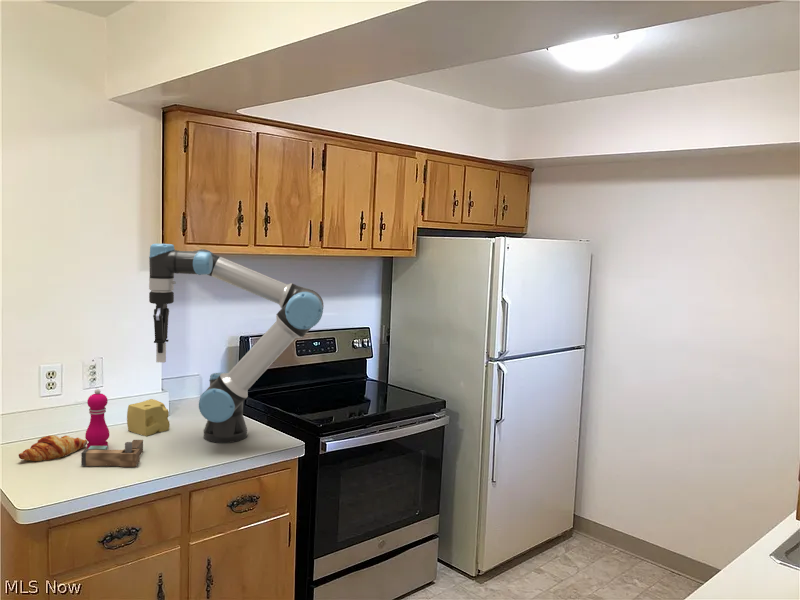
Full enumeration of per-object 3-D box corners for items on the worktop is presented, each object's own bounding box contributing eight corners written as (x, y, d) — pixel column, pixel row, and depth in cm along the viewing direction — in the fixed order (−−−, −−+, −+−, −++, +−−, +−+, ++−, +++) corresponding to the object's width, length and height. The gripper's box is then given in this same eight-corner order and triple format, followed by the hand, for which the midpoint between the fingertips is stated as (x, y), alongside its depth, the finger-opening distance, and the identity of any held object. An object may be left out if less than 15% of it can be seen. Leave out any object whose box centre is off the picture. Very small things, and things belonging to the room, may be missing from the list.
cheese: (169, 430, 235) (170, 403, 234) (144, 437, 226) (144, 409, 225) (151, 424, 241) (151, 398, 239) (125, 431, 231) (126, 404, 230)
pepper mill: (99, 453, 209) (99, 392, 206) (80, 450, 210) (80, 390, 208) (114, 446, 216) (114, 387, 213) (95, 443, 217) (95, 385, 215)
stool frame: (143, 451, 212) (143, 430, 211) (132, 466, 199) (132, 444, 199) (97, 451, 210) (98, 430, 209) (84, 466, 197) (84, 444, 197)
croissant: (81, 455, 216) (75, 432, 217) (97, 447, 211) (91, 424, 212) (14, 471, 198) (9, 446, 200) (29, 463, 193) (23, 437, 194)
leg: (139, 461, 203) (139, 448, 202) (135, 466, 198) (135, 453, 198) (85, 461, 200) (85, 448, 200) (80, 466, 196) (80, 453, 195)
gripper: (169, 293, 205) (169, 366, 208) (177, 289, 218) (176, 358, 220) (144, 292, 204) (144, 366, 206) (154, 288, 217) (153, 357, 219)
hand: (161, 361), depth 213 cm, fingers closed
